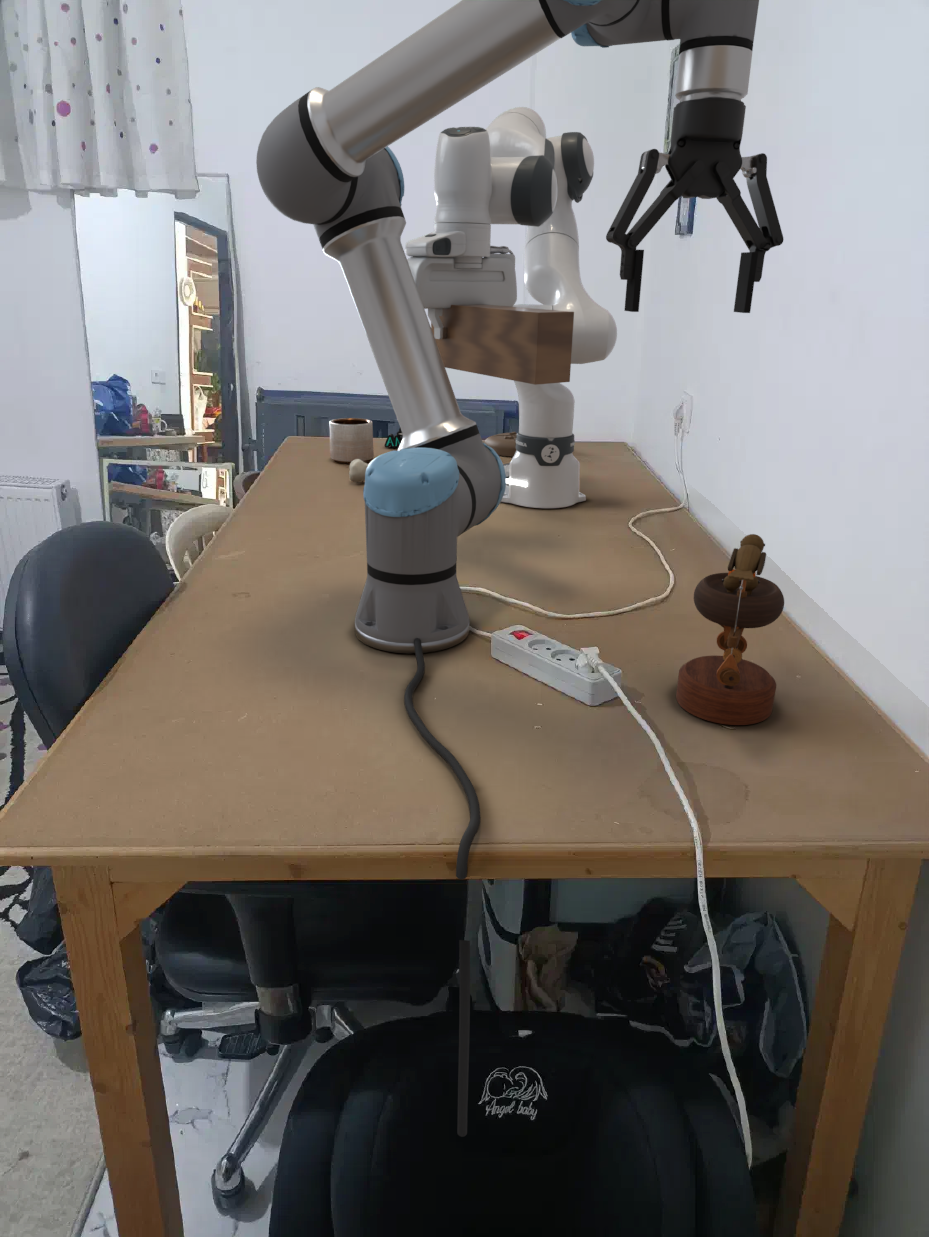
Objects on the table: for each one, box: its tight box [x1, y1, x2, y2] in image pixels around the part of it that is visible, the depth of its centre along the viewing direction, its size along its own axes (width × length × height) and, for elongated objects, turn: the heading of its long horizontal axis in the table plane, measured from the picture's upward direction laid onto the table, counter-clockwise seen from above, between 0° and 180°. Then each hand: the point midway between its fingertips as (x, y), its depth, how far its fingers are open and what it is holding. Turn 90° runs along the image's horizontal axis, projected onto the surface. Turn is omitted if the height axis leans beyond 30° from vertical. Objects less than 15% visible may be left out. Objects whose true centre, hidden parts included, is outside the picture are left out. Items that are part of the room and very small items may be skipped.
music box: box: [675, 533, 785, 726], centre depth 92 cm, size 15×11×20 cm
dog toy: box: [348, 459, 369, 483], centre depth 192 cm, size 20×6×5 cm, turn 99°
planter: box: [328, 417, 375, 464], centre depth 212 cm, size 11×11×10 cm
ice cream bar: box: [483, 431, 518, 457], centre depth 222 cm, size 21×28×4 cm
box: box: [430, 304, 574, 385], centre depth 130 cm, size 28×6×10 cm, turn 35°
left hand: (687, 312), depth 99 cm, fingers open, 13 cm apart
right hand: (460, 338), depth 137 cm, fingers closed on box, 6 cm apart
